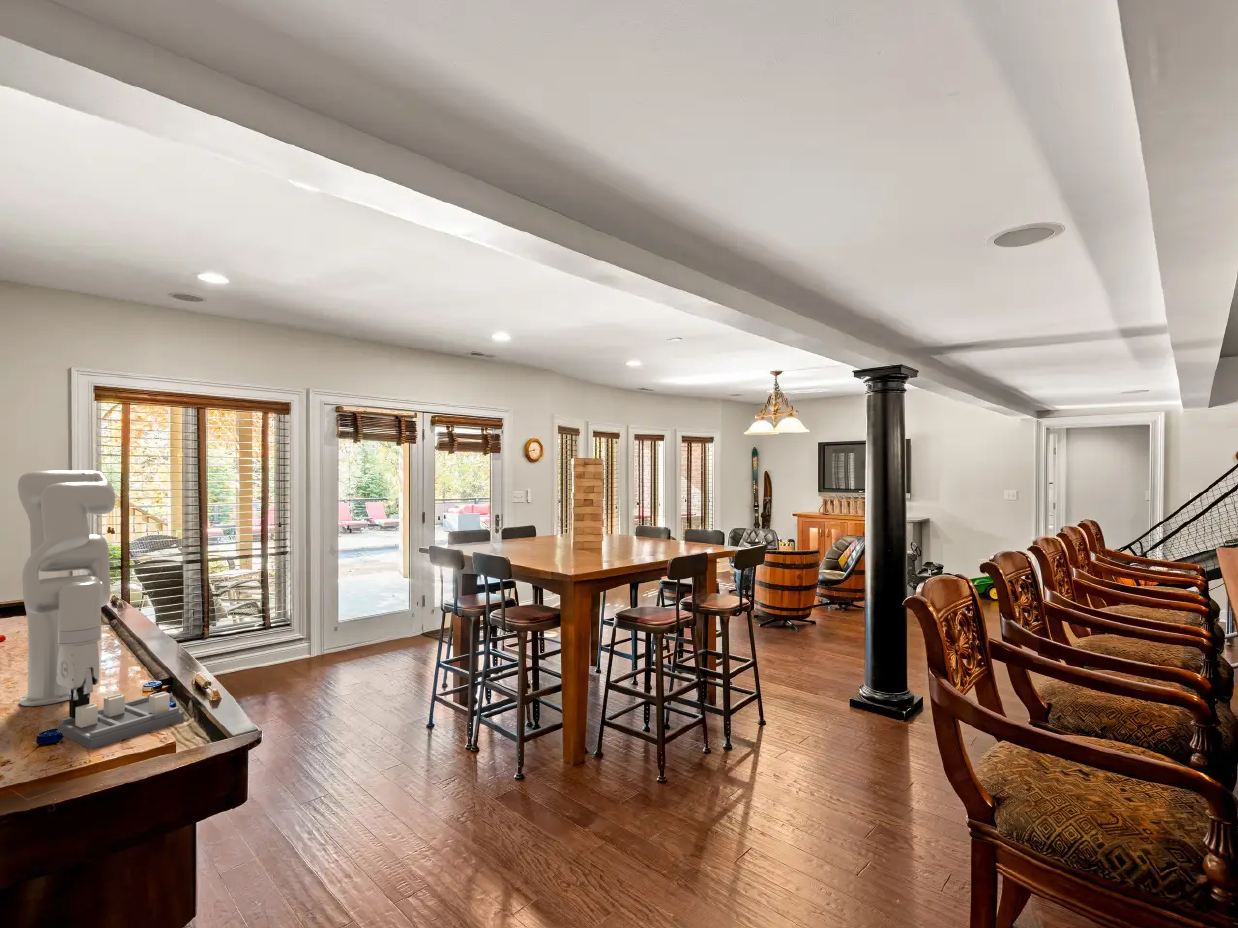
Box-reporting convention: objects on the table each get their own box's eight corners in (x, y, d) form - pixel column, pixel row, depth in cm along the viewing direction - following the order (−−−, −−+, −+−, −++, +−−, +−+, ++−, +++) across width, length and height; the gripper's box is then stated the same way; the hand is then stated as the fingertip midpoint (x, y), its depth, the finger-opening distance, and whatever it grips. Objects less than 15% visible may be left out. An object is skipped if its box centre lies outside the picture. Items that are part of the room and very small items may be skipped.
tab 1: (75, 725, 142) (75, 706, 142) (91, 720, 145) (91, 701, 145) (81, 727, 141) (81, 708, 141) (97, 723, 144) (97, 704, 144)
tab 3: (148, 712, 150) (149, 694, 150) (163, 708, 153) (163, 690, 153) (155, 714, 148) (155, 696, 149) (169, 710, 151) (169, 692, 151)
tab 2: (103, 714, 149) (103, 696, 149) (118, 710, 151) (118, 692, 151) (109, 717, 147) (109, 698, 147) (124, 712, 150) (124, 694, 150)
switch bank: (57, 732, 144) (57, 719, 144) (148, 707, 159) (148, 695, 159) (91, 749, 135) (91, 734, 135) (183, 720, 151) (183, 707, 151)
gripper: (45, 635, 146) (44, 715, 145) (73, 643, 138) (73, 727, 138) (85, 628, 152) (85, 704, 152) (114, 635, 145) (114, 716, 144)
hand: (79, 715), depth 145 cm, fingers closed
